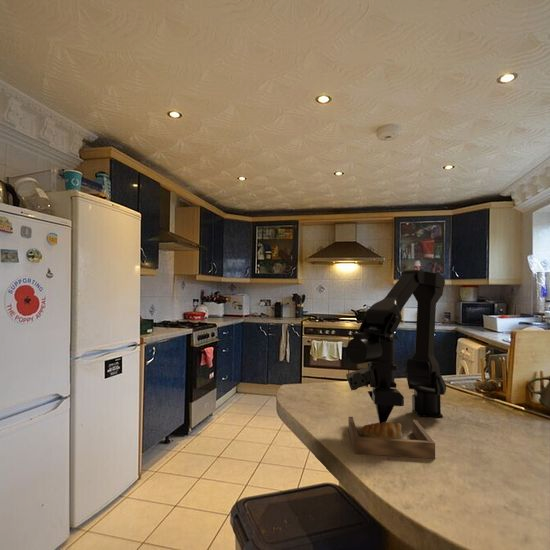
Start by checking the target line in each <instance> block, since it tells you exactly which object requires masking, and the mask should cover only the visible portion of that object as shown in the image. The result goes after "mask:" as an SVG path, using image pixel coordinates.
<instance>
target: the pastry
mask: <svg viewBox="0 0 550 550" xmlns="http://www.w3.org/2000/svg"><path fill="white" fill-rule="evenodd" d="M360 434H361V435H362V437H370V438H387V439H403V438H404V435H403V431H402V424H401V423H399V422H397V423H393V422H389V421H386V422H382V423H379V421H378V422H376V423H373V422H372V423H370V424H365V425H363V426H362V427H361V428H360Z"/></svg>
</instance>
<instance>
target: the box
mask: <svg viewBox="0 0 550 550" xmlns="http://www.w3.org/2000/svg"><path fill="white" fill-rule="evenodd" d="M354 420H355V419H354V417H353V416H348V432H349V436H350V442H351V446H352V450H353V452H354V454H358V455H359V454H360V455H373V456H374V455H375V456H378V455H379V456H390V457H391V456H393V457H407V458H410V457H411V458H422V459H423V458H424V459H436V443H435V441H434V440H433V439H432V437H431V436H430V434H428V432H427V431H426V430H425V428H424V427H423V426H422V425H421V424H420V422H419V421H418V420H417V419H412V420H411V423H412V424H411V426H412V427H411V428H412V430H411V432H412V435H413V436H414V437H415V439H404V438H402V439H387V438H370V437H364V436H359V434H358V430H357V426H356V424H355V421H354Z"/></svg>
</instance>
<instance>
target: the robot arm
mask: <svg viewBox="0 0 550 550" xmlns="http://www.w3.org/2000/svg"><path fill="white" fill-rule="evenodd" d="M445 285H446V279H445V276H443V275H442V274H441V273H440V272H439V271H431V272H430V271H425V270H422V269H419V268H417V269H405V270H403V271H402V272H401V274H400V278H399V279H397V281H396V283H395V284H394V285H393V286H392V288H391V289H390V291H389V292H388V293H387V294H386V296H385V297H384V298H383V299H382V300H380V301H377V302H375V303H373V304H372V305H371V306H370V307H369V308H368V309H367V310H366V312H365V314H364V316H363V319H362V321H361V323H360V326H359V328H358V331H357V332H354V333H353V337H352V338H351V339H350V340H349V341H348V343H347V345H346V347H345V348H346V349H345V352H346V356H347V358H348V359H349V361H351V362H352V363H353V364H356V365H360V364H361V365H362V364H365V363H367V366H366V367H365V368H360V369H358V370H355V371H351V372H349V373H346V374H345V377H346V380H347V382H348V385H349V389H350V390H351V391H357V390H358V389H359V388H363V387H365V388H370V390H369V391H367V393H368V396H369V397H370V399H371V401H372V402H373V403H374V405H375V408H376V413H377V419H378V422H379V423H382V422H388V419H389V417H390V415H391V413H392V411H393V409H394V407H403V406H405V397H404V395H403V394H402V393H401V392H400V391H399V390H398V389H397V382H395V371H397V365H396V364H395V341H398V340H399V336H398V335H397V334H396V331H397V330H398V327H399V325H400V324H401V321H402V318H403V317H402V310H403V308H404V307H405V305H406V304H407V302H408V301H409V300H410V299H411V297H412V296H413V297H414V299H415V301H416V302H417V303H416V306H417V308H416V322H415V323H416V326H415V327H416V328H415V344H414V345H415V346H414V354H413V355H412V357H411V358H408V359H407V361H406V371H405V376H406V382H407V387H408V389H409V390H413V394H412V395H411V403H412V405H411V407H412V408H411V409H412V410H413V411H414V412H415V414H416V415H417V416H419V417H428V418H429V417H433V418H443V417H444V415H443V414H442V412H441V411H442V410H441V407H442V405H441V396H442V395H444V396H445V395H446V392H447V383H446V381H445V380H444V378H443V376H442V375H441V372H440V371H441V369H440V366H441V365H440V364H439V362H438V361H437V358H436V357H435V336H436V335H435V334H436V333H435V332H436V316H437V315H436V312H437V311H436V310H437V303H438V301H439V300H440V299H441V298H442V297H443V295H444V288H445Z"/></svg>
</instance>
